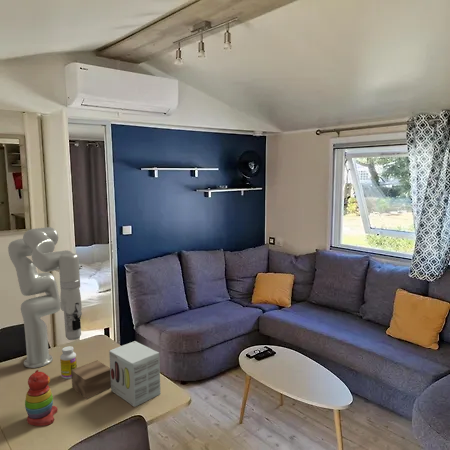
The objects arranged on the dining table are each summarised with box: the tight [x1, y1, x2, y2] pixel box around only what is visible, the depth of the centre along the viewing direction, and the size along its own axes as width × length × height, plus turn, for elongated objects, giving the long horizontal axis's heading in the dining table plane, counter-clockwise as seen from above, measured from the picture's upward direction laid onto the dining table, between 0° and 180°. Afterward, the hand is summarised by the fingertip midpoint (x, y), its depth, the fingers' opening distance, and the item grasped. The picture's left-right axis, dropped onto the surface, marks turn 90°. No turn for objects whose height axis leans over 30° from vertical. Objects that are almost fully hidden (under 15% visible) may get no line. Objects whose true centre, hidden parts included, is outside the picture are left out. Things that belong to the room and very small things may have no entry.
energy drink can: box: [63, 307, 82, 341], centre depth 167 cm, size 6×6×15 cm
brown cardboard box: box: [71, 360, 111, 399], centre depth 172 cm, size 12×12×8 cm
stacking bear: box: [24, 369, 59, 427], centre depth 151 cm, size 11×10×18 cm
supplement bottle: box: [59, 345, 78, 380], centre depth 182 cm, size 7×7×13 cm
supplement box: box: [108, 340, 162, 408], centre depth 167 cm, size 17×13×18 cm
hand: (73, 326), depth 167 cm, fingers closed on energy drink can, 6 cm apart
